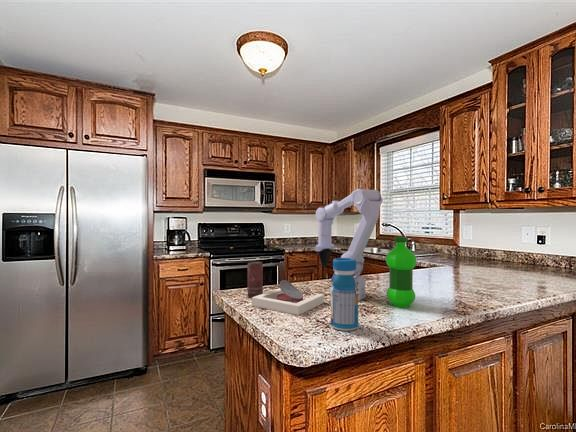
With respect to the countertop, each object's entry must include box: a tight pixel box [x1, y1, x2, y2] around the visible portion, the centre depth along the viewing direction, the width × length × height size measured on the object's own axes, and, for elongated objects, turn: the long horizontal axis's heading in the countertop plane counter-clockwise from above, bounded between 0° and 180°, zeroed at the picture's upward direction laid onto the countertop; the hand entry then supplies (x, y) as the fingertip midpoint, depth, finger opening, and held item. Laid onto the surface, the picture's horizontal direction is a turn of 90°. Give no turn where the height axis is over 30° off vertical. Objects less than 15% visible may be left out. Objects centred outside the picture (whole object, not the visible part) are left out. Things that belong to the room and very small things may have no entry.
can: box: [247, 260, 264, 299], centre depth 130 cm, size 6×6×14 cm
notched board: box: [251, 287, 325, 316], centre depth 119 cm, size 20×18×3 cm
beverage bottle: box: [329, 257, 359, 332], centre depth 95 cm, size 8×8×20 cm
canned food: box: [276, 279, 304, 303], centre depth 120 cm, size 11×10×10 cm
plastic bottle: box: [385, 236, 417, 309], centre depth 117 cm, size 10×10×25 cm
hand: (324, 266), depth 141 cm, fingers closed
